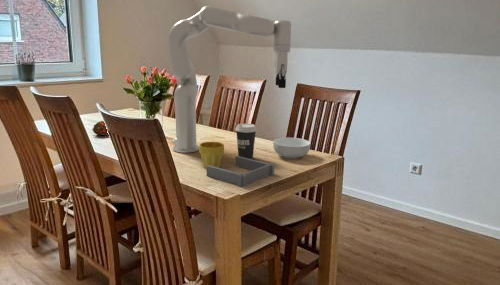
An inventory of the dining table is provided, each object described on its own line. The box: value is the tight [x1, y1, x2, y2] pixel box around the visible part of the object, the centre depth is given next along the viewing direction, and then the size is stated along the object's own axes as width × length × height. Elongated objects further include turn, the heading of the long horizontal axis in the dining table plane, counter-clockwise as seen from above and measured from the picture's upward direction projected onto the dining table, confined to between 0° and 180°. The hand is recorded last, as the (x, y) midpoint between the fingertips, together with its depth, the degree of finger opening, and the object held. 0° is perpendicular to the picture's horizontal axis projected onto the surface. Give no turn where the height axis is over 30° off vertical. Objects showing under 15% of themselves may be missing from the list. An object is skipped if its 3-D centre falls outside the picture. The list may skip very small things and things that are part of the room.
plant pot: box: [198, 141, 225, 170], centre depth 183 cm, size 10×10×10 cm
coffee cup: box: [235, 123, 258, 160], centre depth 196 cm, size 10×10×15 cm
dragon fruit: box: [91, 120, 109, 136], centre depth 235 cm, size 8×8×12 cm
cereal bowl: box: [272, 137, 311, 160], centre depth 201 cm, size 17×17×7 cm
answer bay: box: [206, 155, 275, 187], centre depth 174 cm, size 19×20×4 cm
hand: (280, 86), depth 203 cm, fingers open, 9 cm apart
